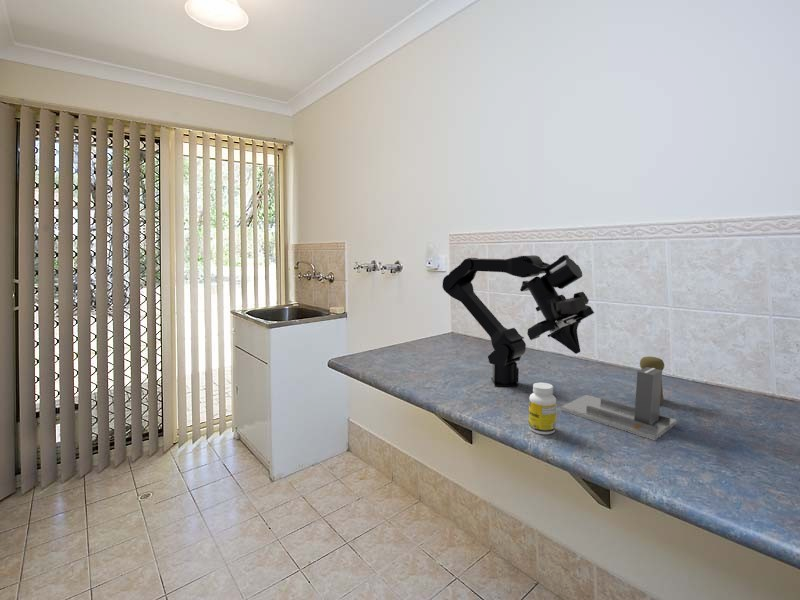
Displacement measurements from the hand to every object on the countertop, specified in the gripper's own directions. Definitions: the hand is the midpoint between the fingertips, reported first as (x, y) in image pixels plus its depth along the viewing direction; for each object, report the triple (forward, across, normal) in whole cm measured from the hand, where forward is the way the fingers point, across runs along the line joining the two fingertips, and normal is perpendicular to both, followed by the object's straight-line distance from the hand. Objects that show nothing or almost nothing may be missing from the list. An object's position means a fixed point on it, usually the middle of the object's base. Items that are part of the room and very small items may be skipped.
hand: (578, 352), depth 100 cm
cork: (+18, +15, +1) cm, 23 cm away
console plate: (+16, -2, -2) cm, 16 cm away
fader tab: (+19, -1, -8) cm, 20 cm away
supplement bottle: (+12, -21, 0) cm, 24 cm away
